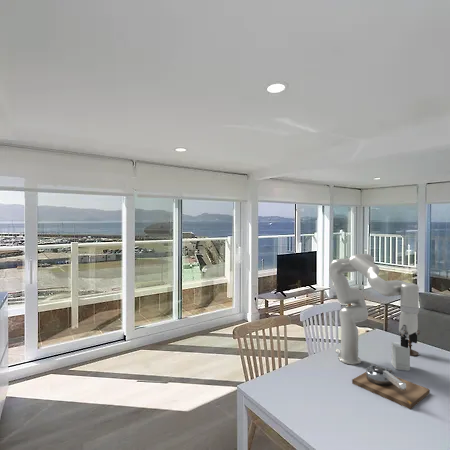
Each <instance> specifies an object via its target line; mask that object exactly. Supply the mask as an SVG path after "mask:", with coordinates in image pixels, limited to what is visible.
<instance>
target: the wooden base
mask: <svg viewBox="0 0 450 450" xmlns="http://www.w3.org/2000/svg"><path fill="white" fill-rule="evenodd" d="M394 376H395V375H394ZM395 377H396V378H398V379H399V380H400V381H402V382H404V383H406V391H402V390H400V389H399V388H398V387H397V386H396V385H394V384H392V385H390V386H381V385H377V384H374V383H372V382H370V381H369V380H367V378H366V371H365V372H363V373H362V374H360V375H357V376H355V377H354V378H352V379H351V382H352V384H353V385H354V386H356V387H359V388H362V389H364V390H366V391H369V392H371V393H373V394H375V395H377V396H379V397H382V398H384V399H386V400H388V401H391V402H393V403H396V404H397V405H399V406H402V407H404V408H407V409H409V410H412V409H413V408H414V407H415V406H416V405H418V404H419V403H420V402H421V401H423V400H424V399H425V398H426V397H428V396H429V395H430V393H431V392H430V390H431V389H430V388H427V387H424V386H421V385H419V384H416V383H414V382H412V381H409V380H406V379H404V378H401V377H398V376H397V375H396V376H395Z"/></svg>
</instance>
